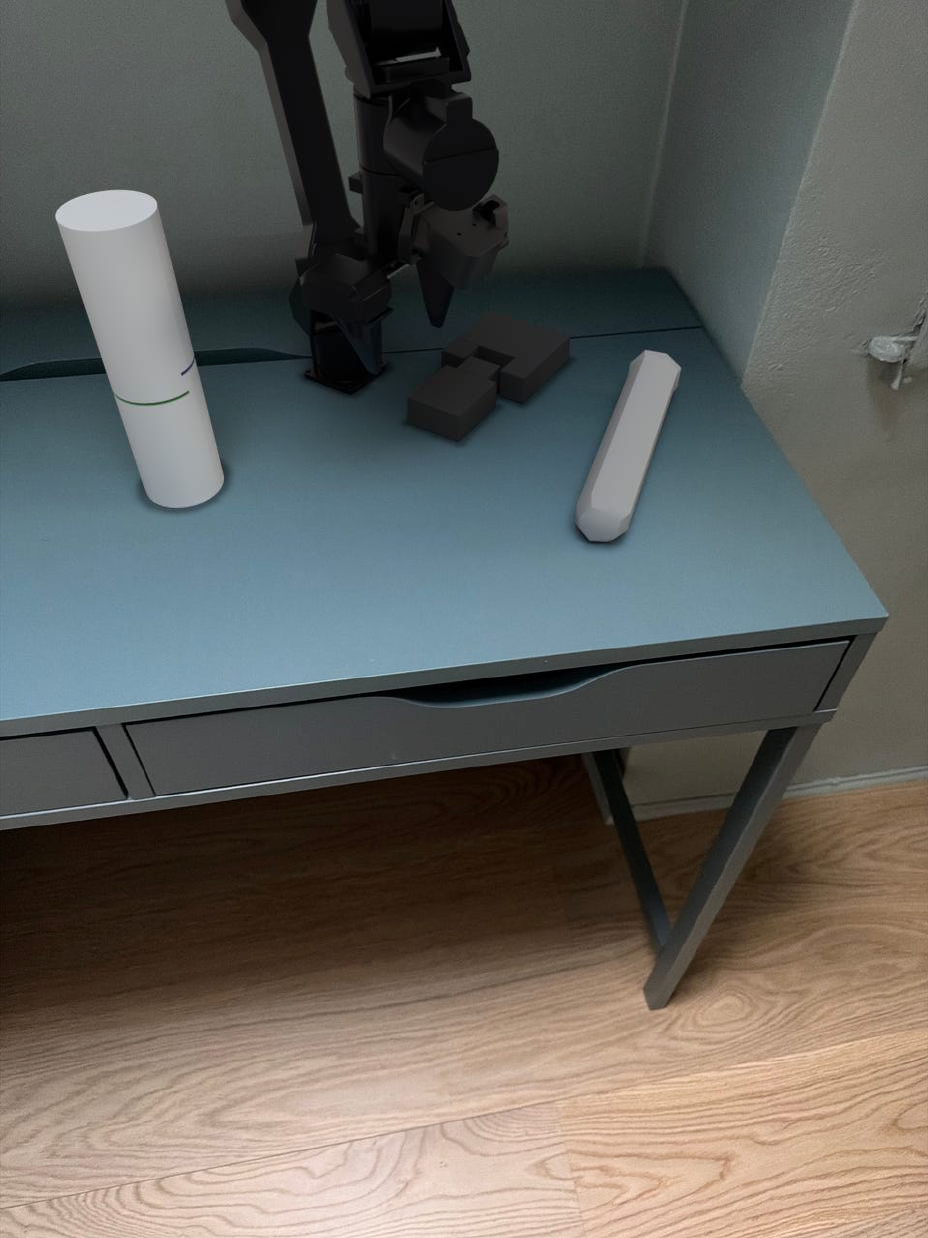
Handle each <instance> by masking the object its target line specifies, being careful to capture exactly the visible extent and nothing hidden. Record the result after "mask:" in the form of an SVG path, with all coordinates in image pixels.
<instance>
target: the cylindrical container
mask: <svg viewBox="0 0 928 1238" xmlns="http://www.w3.org/2000/svg"><path fill="white" fill-rule="evenodd" d="M54 216H55V220H56V224H57V226H58V230H59V233H60V236H61V239H62V242H63V244H64V248H65V251H66V254H67V257H68V260H69V263H70V266H71V269H72V272H73V275H74V278H75V281H76V284H77V287H78V290H79V294H80V296H81V299H82V302H83V306H84V308H85V311H86V315H87V318H88V321H89V323H90V326H91V329H92V333H93V337H94V339H95V342H96V345H97V348H98V350H99V351H98V352H99V355H100V357H101V360H102V363H103V366H104V369H105V373H106V375H107V378H108V381H109V384H110V388H111V391H112V393H113V396H114V401H115V402H116V405H117V409H118V411H119V415H120V418H121V420H122V423H123V427H124V429H125V433H126V436H127V439H128V442H129V445H130V448H131V451H132V454H133V457H134V461H135V463H136V467H137V469H138V473H139V476H140V480H141V481H142V485H143V488H144V491H145V494H146V496H147V497H148V499H149V500H151V501H152V502H153V503H154V504H156V505H157V506H161V507H165V508H170V509H172V508H173V509H183V508H189V507H193V506H197V505H200V504H203V503H205V502H206V501H209V500H210V499H211V498H213V497H214V496H216V495H217V494H218V493H219V492H220V490H221V489H222V487H223V485H224V483H225V476H224V471H223V467H222V463H221V458H220V455H219V451H218V446H217V442H216V439H215V434H214V430H213V426H212V422H211V418H210V413H209V410H208V405H207V402H206V397H205V393H204V389H203V385H202V381H201V377H200V373H199V369H198V365H197V360H196V357H195V351H194V349H193V345H192V341H191V335H190V332H189V327H188V324H187V320H186V316H185V311H184V308H183V303H182V300H181V296H180V290H179V287H178V282H177V279H176V275H175V271H174V266H173V263H172V258H171V254H170V250H169V246H168V241H167V238H166V235H165V230H164V225H163V221H162V218H161V214H160V210H159V205H158V202H157V200H156V199H155V198H154V197H153V196H151V195H149V194H147V193H144V192H142V191H137V190H130V189H110V190H109V189H108V190H102V191H101V190H100V191H96V192H90V193H87V194H83V195H80V196H77V197H74V198H72V199H70V200H68V201H66V202H65V203H63V204H62V205H60V206H59V208H58V209H57V210H56V212H55V214H54Z"/></svg>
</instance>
